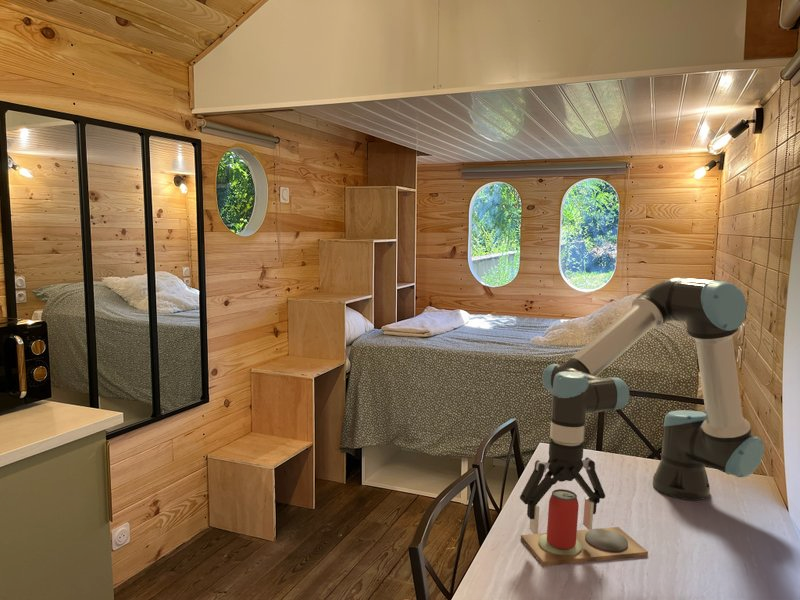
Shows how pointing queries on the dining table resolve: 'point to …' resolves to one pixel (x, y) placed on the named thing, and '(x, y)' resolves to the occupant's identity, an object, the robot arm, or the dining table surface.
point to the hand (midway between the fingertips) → (560, 529)
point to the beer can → (562, 519)
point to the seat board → (585, 547)
